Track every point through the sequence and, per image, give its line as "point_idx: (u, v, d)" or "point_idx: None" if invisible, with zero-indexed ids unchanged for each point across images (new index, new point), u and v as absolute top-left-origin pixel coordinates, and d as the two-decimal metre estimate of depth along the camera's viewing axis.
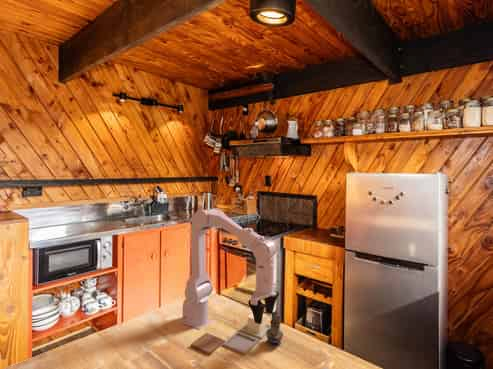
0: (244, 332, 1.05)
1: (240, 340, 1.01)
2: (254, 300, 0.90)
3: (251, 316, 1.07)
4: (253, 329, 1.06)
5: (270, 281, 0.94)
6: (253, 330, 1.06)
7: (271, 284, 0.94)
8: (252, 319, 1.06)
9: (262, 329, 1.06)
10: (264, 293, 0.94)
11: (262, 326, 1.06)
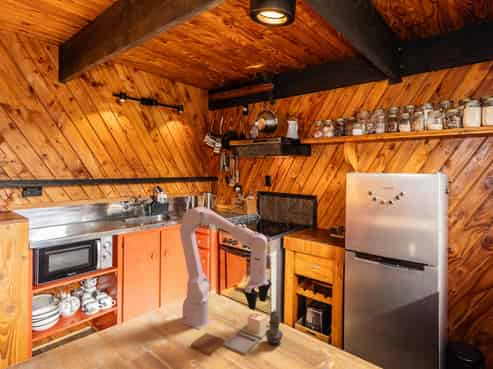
0: (244, 332, 1.05)
1: (240, 340, 1.01)
2: (248, 288, 1.01)
3: (251, 316, 1.07)
4: (253, 329, 1.06)
5: (263, 271, 1.04)
6: (253, 330, 1.06)
7: (264, 274, 1.05)
8: (252, 319, 1.06)
9: (262, 329, 1.06)
10: (257, 282, 1.04)
11: (262, 326, 1.06)
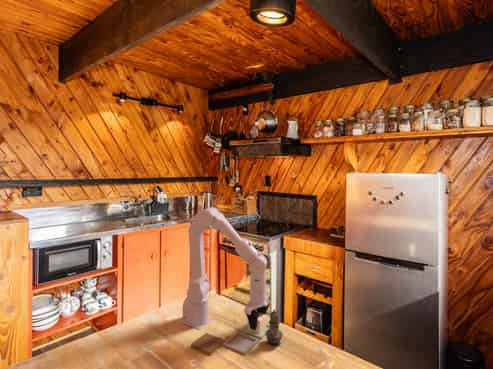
0: (244, 332, 1.05)
1: (240, 340, 1.01)
2: (248, 310, 1.01)
3: None
4: None
5: (262, 293, 1.05)
6: (253, 330, 1.06)
7: (263, 295, 1.05)
8: None
9: (262, 329, 1.06)
10: (257, 303, 1.04)
11: (262, 326, 1.06)
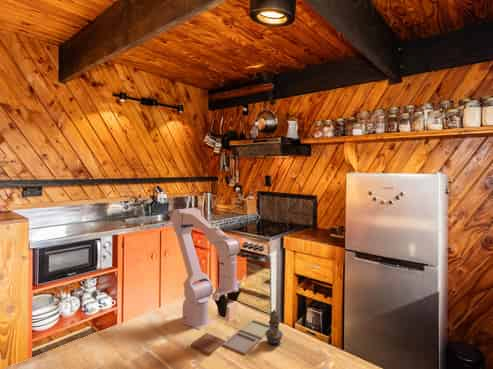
0: (244, 332, 1.05)
1: (240, 340, 1.01)
2: (215, 296, 0.94)
3: None
4: None
5: (232, 277, 0.98)
6: (223, 318, 0.99)
7: (233, 280, 0.99)
8: None
9: (232, 316, 1.00)
10: (226, 289, 0.98)
11: (233, 313, 1.00)
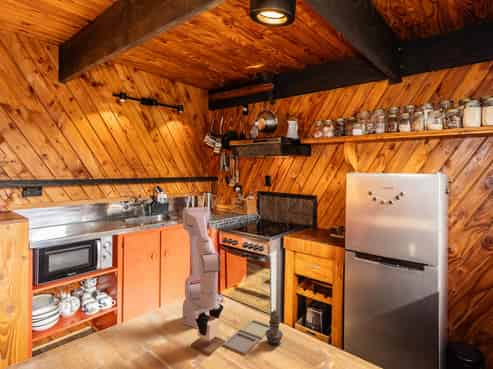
0: (244, 332, 1.05)
1: (240, 340, 1.01)
2: (194, 314, 0.91)
3: None
4: (203, 335, 0.96)
5: (213, 294, 0.95)
6: (204, 336, 0.96)
7: (214, 297, 0.95)
8: None
9: (213, 334, 0.96)
10: (206, 306, 0.95)
11: (214, 331, 0.96)
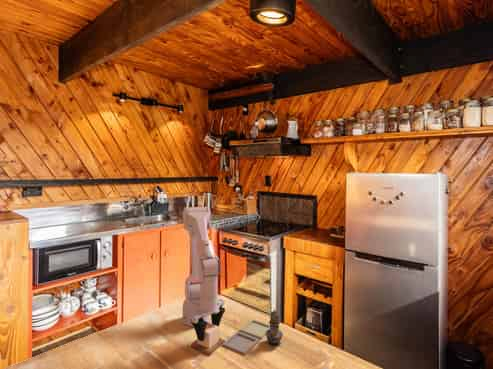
0: (244, 332, 1.05)
1: (240, 340, 1.01)
2: (194, 318, 0.91)
3: None
4: (203, 342, 0.96)
5: (213, 299, 0.95)
6: (203, 344, 0.96)
7: (214, 301, 0.95)
8: None
9: (213, 342, 0.97)
10: (206, 311, 0.95)
11: (213, 339, 0.97)
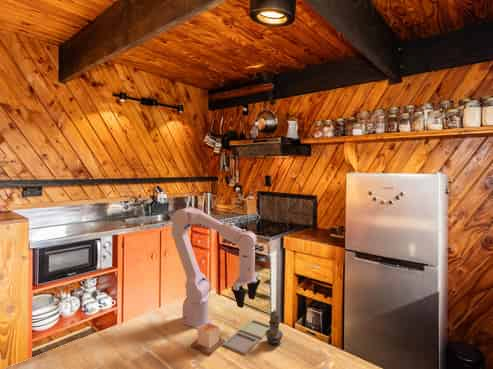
0: (244, 332, 1.05)
1: (240, 340, 1.01)
2: (236, 286, 1.00)
3: (201, 328, 0.97)
4: (203, 342, 0.96)
5: (251, 269, 1.04)
6: (203, 344, 0.96)
7: (252, 272, 1.04)
8: (202, 331, 0.96)
9: (213, 342, 0.97)
10: (246, 280, 1.03)
11: (213, 339, 0.97)
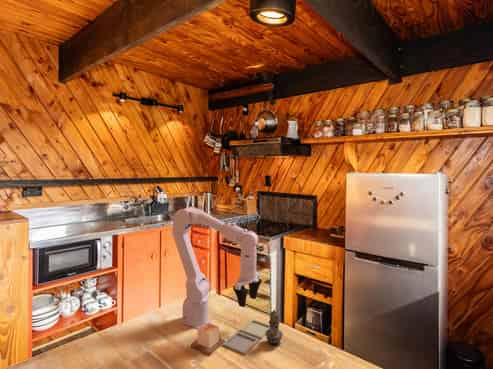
0: (244, 332, 1.05)
1: (240, 340, 1.01)
2: (238, 285, 1.00)
3: (201, 328, 0.97)
4: (203, 342, 0.96)
5: (253, 269, 1.04)
6: (203, 344, 0.96)
7: (254, 271, 1.05)
8: (202, 331, 0.96)
9: (213, 342, 0.97)
10: (247, 279, 1.04)
11: (213, 339, 0.97)
